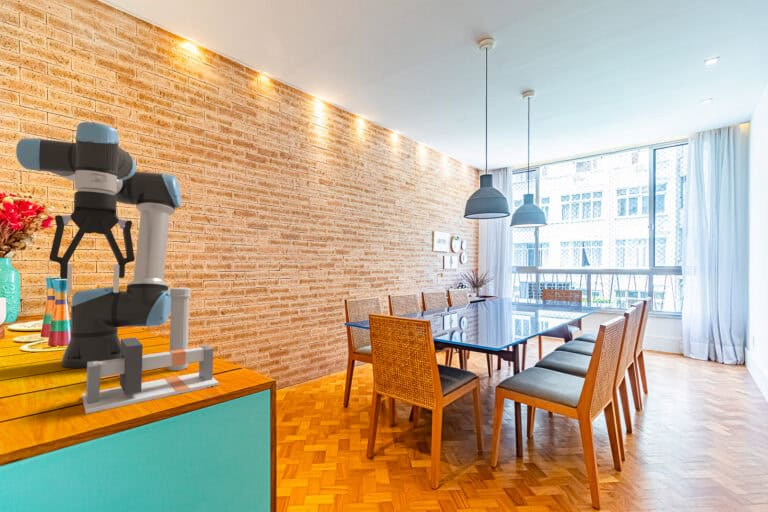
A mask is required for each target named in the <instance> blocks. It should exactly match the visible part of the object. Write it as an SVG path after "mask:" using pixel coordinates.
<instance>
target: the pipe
mask: <svg viewBox="0 0 768 512" xmlns="http://www.w3.org/2000/svg"><path fill="white" fill-rule="evenodd" d="M170 271H172V272H173V273H175V275H176V277H177V278H178V281H179V287H171V288H170V289H169V290H170V297H171V313H170V323H169V324H170V327H169V328H170V329H169V330H170V331H169V351H172V350H179V349H183V350H184V349H189V316H190V315H189V310H190V309H189V308H190V306H189V305H190V297H191V288H190V287H182V284H181V280H180V277H179V275H178V274H177V272H176V271H175V270H174V269H172V268H170ZM167 367H168V368H167V369H168V370H169V371H175V372H176V371H181V370H182V371H183V370H185V369H187V368H188V367H189V363H186V364H184V365H178V366H167Z"/></svg>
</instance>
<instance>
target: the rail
mask: <svg viewBox="0 0 768 512" xmlns="http://www.w3.org/2000/svg"><path fill="white" fill-rule="evenodd" d="M197 362H199V363H198V372H195V373H188V374H182V375H176V376H170V377H164V378H161V379H156V380H151V381H144V382H142V385H141V392H138V393H133V394H128V395H125V393H124V391H123V389H122V387H121V386H117V387H112V388H108V389H107V388H105V389H102V390H101V389H100V388H101V387H100V386H101V381H100V380H101V378H106V377H110V376H111V377H112V376H116V375H117V376H118V375H119V376H120V374H124V371H125V358H120V359H113V360H106V361H91V362H87V367H86V383H85V384H86V388H85V393H84V392H83V393H81V399H82V402H83V409H84V413H85V415H87V414H92V413H96V412H100V411H105V410H110V409H115V408H119V407H124V406H128V405H133V404H138V403H142V402H147V401H151V400H157V399H162V398H165V397H166V398H167V397H172V396H175V395H180V393H181V394H185V393H189V392H190V393H191V392H194V391H199V390H202V389H204V390H205V389H208V388H207V387H209V388H212V387H211V386H213V387H216V386H215V385H218V386H220V384H219V383H220V382H219V381H218V380H216V379H215V378H214V376H213V374H214V373H213V370H214V368H213V367H214V348H213V347H211V346H209V345H201V346H199V347H193V348H188V349H184V350H183V349H179V350H172V351H170V350H169V351H163V352H157V353H150V354H144V355H143V354H142V372H143V371H147V370H148V371H149V370H155V369H160V368H161V369H162V368H165V367H168V366H178V365H184V364H186V363H188V364H190V363H197Z"/></svg>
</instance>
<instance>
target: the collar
mask: <svg viewBox="0 0 768 512" xmlns="http://www.w3.org/2000/svg"><path fill="white" fill-rule="evenodd" d="M120 343H121V351H120V358H125V371H124V374H119V385H120V387H122V389H123V391H124V393H125V395H128V394H133V393H138V392H141V385H142V383H143V382H142V381H143V380H142V378H143V371H142V355H143V349H144V347H143V346H144V345H143V344H142V342H140V340H139V339H138V338H137V337H128V338H120Z"/></svg>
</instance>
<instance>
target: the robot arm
mask: <svg viewBox="0 0 768 512" xmlns="http://www.w3.org/2000/svg"><path fill="white" fill-rule="evenodd" d="M75 134H76V135H75V137H74V139H75V142H70V141H64V140H63V141H61V140H52V139H43V138H30V137H24V138H21V139H20V140H19V141H18V142H17V144H16V148H15V149H16V151H15V153H16V154H15V155H16V158H17V161H18V162H19V165H20V166H22V167H23V168H24V169H26V170H29V171H36V172H40V173H41V172H46V173H52V174H54V175H55V176H58V177H62V178H64V179H65V180H68V181H72V182H74V189H75V190H77V191H75V192H74V194H73V195H74V196H73V199H74V200H73V211H72V213H71V214H70V215H69V214H68V215H60V214H58V215H55V217H54V221H55V225H56V227H55V233H54V237H53V241H52V245H51V250H50V252H49V253H50V254H49V260H50V261H51V262H55V263H58V264H59V265H60V266H59V267H60V268H59V269H60V271H59V277H60V279H61V280H66V291H65V292H66V295H67V296H68V295H72V290H73V289H72V286H73V263H72V264H71V263H69V261H70V260H71V257H72V256H73V254H74V253H75V250H76V249H77V248H78V246H79V244H80V242H81V241H82V238H83V237H84V236H85V234H98V235H104V237H105V239H106V241H107V243H108V245H109V247H110V249H111V251H112V253H113V256H114V258H115V259H116V262H117V264H113V281H112V286H109V287H99V288H91V289H90V288H89V289H84V290H79V291H75V292H74V293H73V295H72V297H71V305H70V339H69V342H68V344H67V347H66V349H65V351H64V352H63V355H62V359H61V365H62V367H65V368H71V369H74V368H75V369H79V368H87V362H91V361H106V360H113V359H120V351H121V339H120V337H119V336H118V330H119V328H135V327H136V328H137V327H138V328H139V327H148V328H149V327H150V328H151V327H154V326H155V327H157V326H162V325H164V324H166V323H167V321H168V320H169V318H170V317H171V297H170V289H169V285H168V284H167V283H166V282H165V280H164V278H165V271H166V270H165V269H166V267H165V266H166V259H167V257H166V256H167V250H168V249H167V247H168V234H169V224H170V217H171V216H173V215H174V214H175V212H176V208H180V207H182V196H181V195H182V194H181V190H180V184H179V181H178V179H177V177H176V176H175V175H172V174H165V173H158V172H156V173H155V172H143V171H137V163H136V160H135V159H134V158H133V157H132V156H131V155H130V153H129V152H128V151H126V150H124V149H123V148H121V147H120V145H119V143H120V140H119V132H118V131H117V129H116V128H114V127H112V126H110V125H107V124H104V123H99V122H93V121H92V122H91V121H84V122H80V123H78V124H77V127H76V133H75ZM118 203H121V204H124V205H125V204H126V205H133V206H135V208H136V209H137V211H139V213H140V216H139V217H140V218H139V224H138V225H139V226H138V234H137V244H136V253H134V245H133V239H132V233H131V229H132V227H133V221H131V220H125V219H121V218H119V217H118V215H117V214H118V213H117V204H118ZM70 221H72V222H73V223H74V224H75V225H76V227H78V230H77V232H76V234H75V235H74V237H73V238H72V240H71V242H70V244H69V245H68V247H67V249H66V251H65V252H64V254H63V255H62V257H61V256H59V252H60V247H61V243H62V240H63V239H62V238H63V235H64V230H65V226H68V225H69V222H70ZM117 224H118V225H119V228H120V229H122V236H123V237H122V238H123V243H124V249H125V255H126V257H125V258H124V256H123V254H122V251H121V249H120V247H119V245H118V243H117V241H116V238H115V236H114V234H113V232H112V229H113V228H114V227H115V226H116V225H117ZM133 262H135V263H134V271H133V278H132V279H133V280H132V281H130V282H129V283H127V285H126V290H120V288H119V286H120V279H124V278H125V275H126V273H125V272H126V265H127V264H130V263H133Z"/></svg>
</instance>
